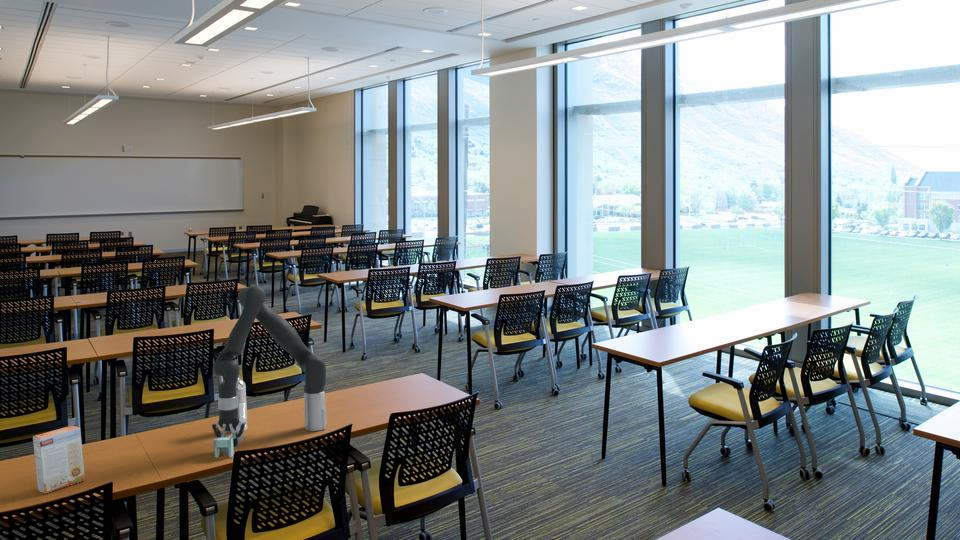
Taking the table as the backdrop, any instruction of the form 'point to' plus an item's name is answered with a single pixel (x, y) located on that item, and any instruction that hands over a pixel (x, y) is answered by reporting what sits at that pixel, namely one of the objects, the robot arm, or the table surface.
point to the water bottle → (241, 402)
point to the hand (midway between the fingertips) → (229, 446)
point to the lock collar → (223, 445)
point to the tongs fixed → (226, 450)
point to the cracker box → (58, 458)
